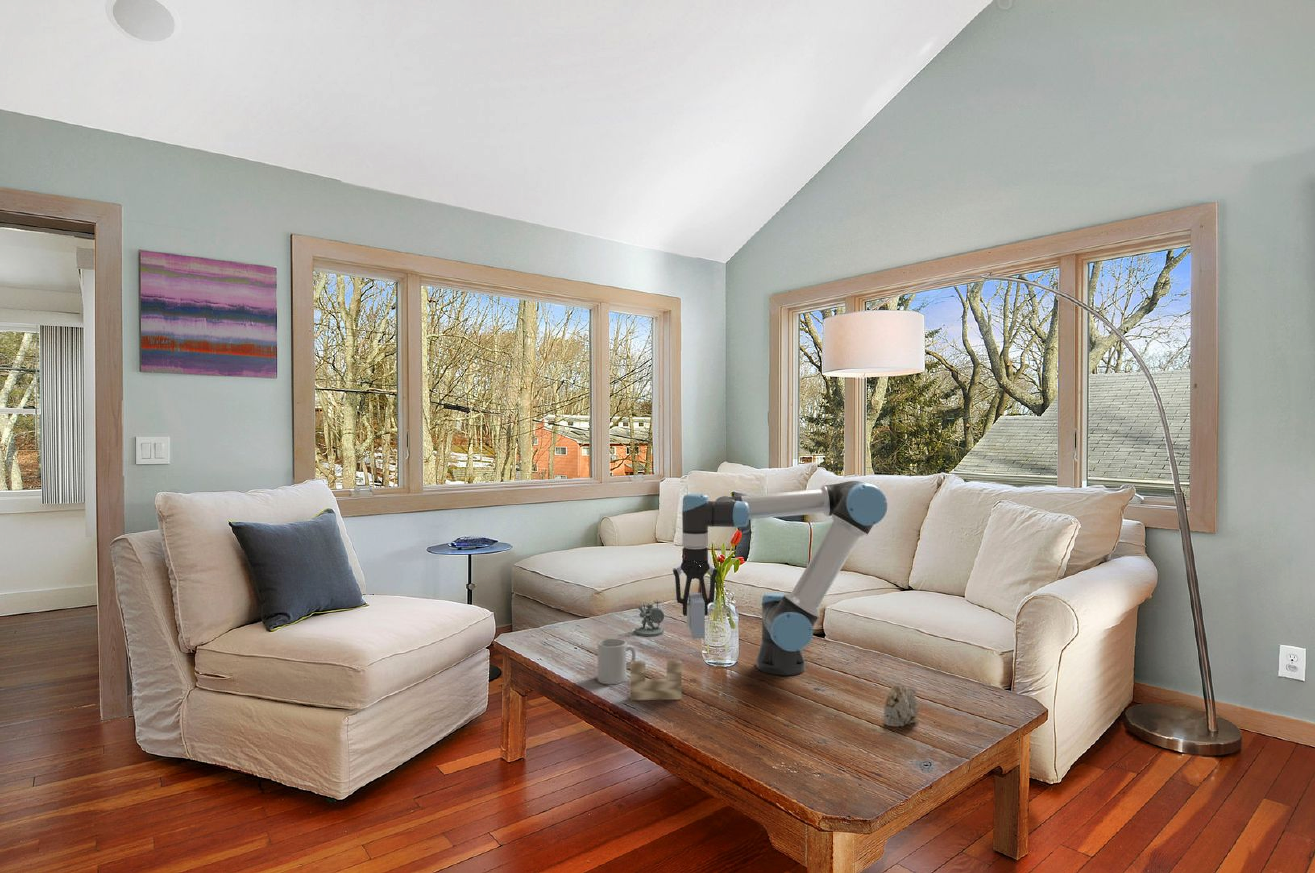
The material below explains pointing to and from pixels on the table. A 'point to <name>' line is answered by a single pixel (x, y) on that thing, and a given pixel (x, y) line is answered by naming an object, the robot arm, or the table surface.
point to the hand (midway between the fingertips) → (695, 626)
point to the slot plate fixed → (656, 683)
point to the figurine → (650, 620)
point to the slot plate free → (697, 615)
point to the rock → (900, 707)
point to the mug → (613, 660)
